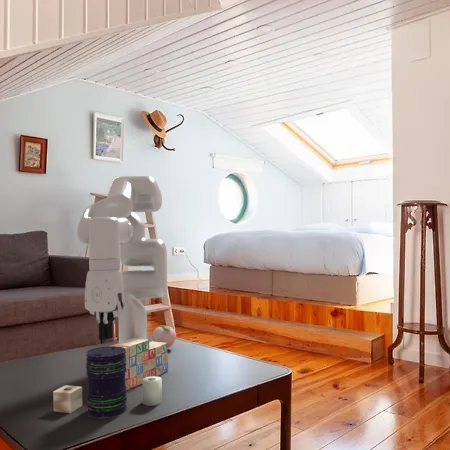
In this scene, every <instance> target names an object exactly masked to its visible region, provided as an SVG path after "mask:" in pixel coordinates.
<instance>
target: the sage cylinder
mask: <svg viewBox="0 0 450 450" xmlns="http://www.w3.org/2000/svg"><path fill="white" fill-rule="evenodd" d="M162 380H163V379H162V377H160V376H157V377H156V376H151V377H146V378H143V383H142V392H141V393H142V401H141V402H142V405H144V406H147V407H148V406H150V407H153V406H158V405H161V404H162V402H163V401H162V397H163V396H162V395H163V393H162V392H163V388H162V387H163V385H162V383H163V381H162Z"/></svg>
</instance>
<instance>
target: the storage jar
mask: <svg viewBox="0 0 450 450" xmlns="http://www.w3.org/2000/svg"><path fill="white" fill-rule="evenodd" d="M125 354H126V349H125V348H123V347H116V346H111V345H108V346H101V347H100V346H99V347H96V348H92V349H89V350H87V351H86V355H85V356H86V364H85V368H86V376H87V391H86V405H87V410H86V411H87V414H86V415H88V417H90V418H94V419H109V418H114V417H118V416H120V415H121V416H122V415H123V414H124V413H125V412H126V411H127V410H128V409H127V408H128V407H127V402H128V401H127V400H128V393H127V391H128V390H127V387H126V386H125V373H126V369H127V368H126V355H125Z"/></svg>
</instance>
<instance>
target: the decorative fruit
mask: <svg viewBox="0 0 450 450" xmlns="http://www.w3.org/2000/svg"><path fill="white" fill-rule="evenodd" d="M151 337H152V338H151V339H152V341H153V342H163V343H167V349H169V348H171V346H173V345H174V343H175V342H176V339H177V333H176V331H175V329H174V328H173V327H172V326H169V325H165V323H164V322H163V325H157V326H156V328H154V330H153V332H152V335H151Z"/></svg>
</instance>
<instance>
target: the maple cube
mask: <svg viewBox="0 0 450 450" xmlns="http://www.w3.org/2000/svg"><path fill="white" fill-rule="evenodd" d="M52 393H53V397H52V398H53V412H58V413H66V414H72V413H73V412H75V411H76V410H78V409H80V408H81V407H83V386H79V385H78V386H77V385H76V386H75V385H67V384H65V385H63V386H61V387H59V388H57V389H56V390H53V392H52Z"/></svg>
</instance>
